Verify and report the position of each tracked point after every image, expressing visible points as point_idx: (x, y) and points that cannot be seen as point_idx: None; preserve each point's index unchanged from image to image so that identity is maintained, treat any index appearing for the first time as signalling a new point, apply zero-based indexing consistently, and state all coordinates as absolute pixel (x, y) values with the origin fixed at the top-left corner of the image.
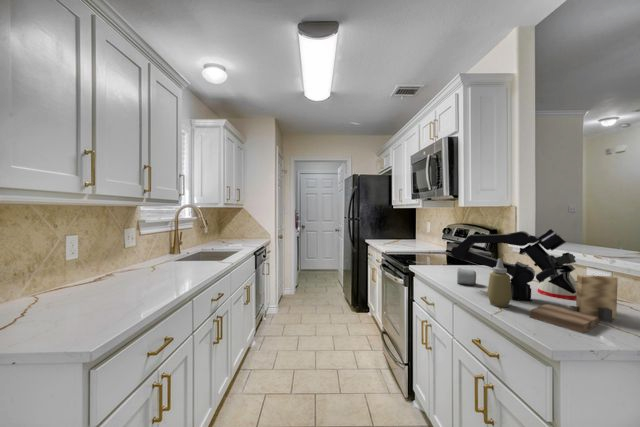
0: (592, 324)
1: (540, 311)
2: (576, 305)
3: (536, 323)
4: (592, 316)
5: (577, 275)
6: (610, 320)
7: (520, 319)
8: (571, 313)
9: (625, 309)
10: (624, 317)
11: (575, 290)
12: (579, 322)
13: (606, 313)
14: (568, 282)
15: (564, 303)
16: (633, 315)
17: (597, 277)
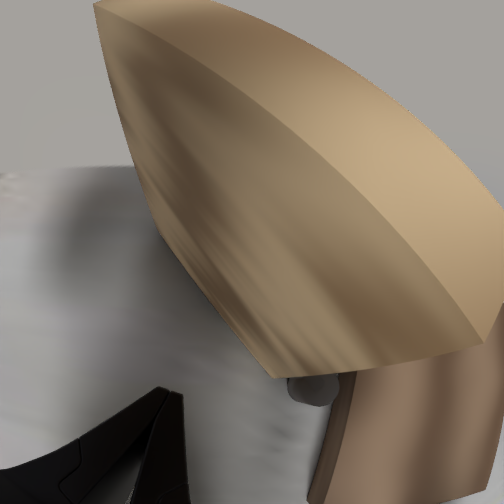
0: None
1: (478, 464)
2: (283, 376)
3: (501, 438)
4: None
5: (477, 339)
6: None
7: (495, 481)
8: (419, 374)
9: (8, 192)
10: (122, 190)
11: (150, 393)
12: (497, 319)
13: None
14: (145, 485)
15: (48, 423)
16: (72, 169)
17: (295, 44)
